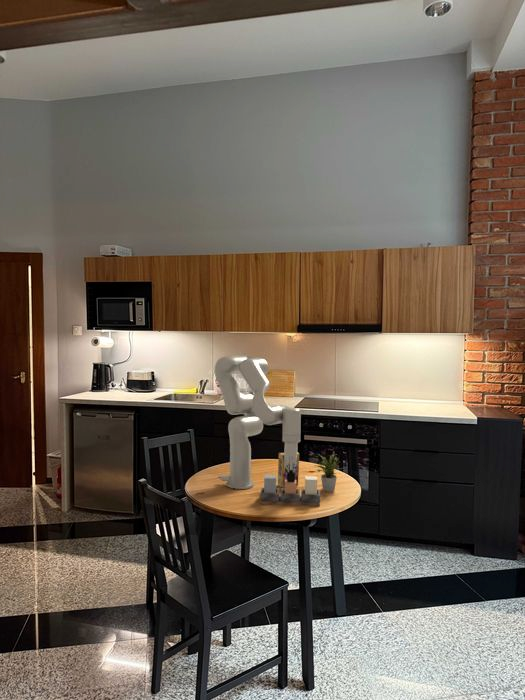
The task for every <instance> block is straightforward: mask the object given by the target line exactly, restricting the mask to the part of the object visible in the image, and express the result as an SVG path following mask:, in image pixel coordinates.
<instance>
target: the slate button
mask: <svg viewBox="0 0 525 700" xmlns="http://www.w3.org/2000/svg"><path fill="white" fill-rule="evenodd" d="M263 478H264V479H263V484H264V487H263V488H264V493H276V488H277V474H264V477H263Z"/></svg>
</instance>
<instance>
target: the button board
mask: <svg viewBox="0 0 525 700" xmlns="http://www.w3.org/2000/svg"><path fill="white" fill-rule="evenodd" d="M280 488H281V487H276V493H264V487H261V490H260V494H259V495H260V497H259V498H260V500H259V501H260V504H261V505H276V506H277V505H280V506H281V505H282V506H284V505H285V506H308V507H311V506H314V507H320V506H321V490H320V489H317V495H312V494H305V488H302V489H301V491H300V489H299V488H296V494H285V487H282V488H281V490H280ZM300 493H301V494H300Z"/></svg>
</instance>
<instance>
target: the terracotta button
mask: <svg viewBox="0 0 525 700" xmlns="http://www.w3.org/2000/svg"><path fill="white" fill-rule="evenodd" d="M284 488H285V494H296V489H297V486H296V480H295V482H287V480H285V487H284Z"/></svg>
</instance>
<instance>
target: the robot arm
mask: <svg viewBox="0 0 525 700" xmlns="http://www.w3.org/2000/svg"><path fill="white" fill-rule="evenodd" d="M269 368H270V367H269V364H268V362H267V360H265V359H264V358H261V357H256V356H250V355H225V356H222V357H220V358H218V359H217V361H216V362H215V365H214V377H215V379H216V382H217V384H218V387H219V389H220V392H221V395H222V399H223V404H224V406H225V409H226V411H227V413H228V414H229V415H234V416H235V415H241V416H236V417H234V418H232V419H231V420H229V423H228V427H227V428H228V429H227V431H228V435H229V445H230V446H229V453H230V454H229V474H227V475H220V481H222V482H226V483H225V484H226V487H227V486H228V488H229V487H230V489H233V488H235V490H245V489H247V490H248V489H251V488H253V487H254V485H255V482H254V481H253V480H251V479H252V478H251V474H252V472H251V471H252V467H251V464H252V457H251V456H252V448H251V447H252V446H251V441H249V438H248V437H253V436H256V435H259V434H261V433H262V431H263V429H264V425H265V426H266V425H267V426H272V425H278V424H282V440H281V441H282V442H283V443H284V452H283V453H284V466H285V467H286V466H287V465H288V471H287V482H295V472H294V467H295V466H296V462H297V452H298V444H299V443H300V442H301V429H302V428H301V423H302V421H301V419H302V418H301V417H302V415H301V414H302V412H301V409H299V408H297V407H289V406H286V405H283V404H281V405H274V406H269V404H268V403H267V401H266V399H265V395H264V394H265V393H267V391H268V390H269V389H270V386H271V383H270V381H269V380H268V379H267V377H266V375H267V374H268V373H269V370H270V369H269ZM235 374H237V375H239V374H241V376H242V377H243V379H244V381H245V382H246V385H248V387H249V388H250V391H251V392H252V394H251V393H249V392H241V389H240V386H239V384H238V382H237V380H236V379H235V377H233V375H235Z"/></svg>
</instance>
